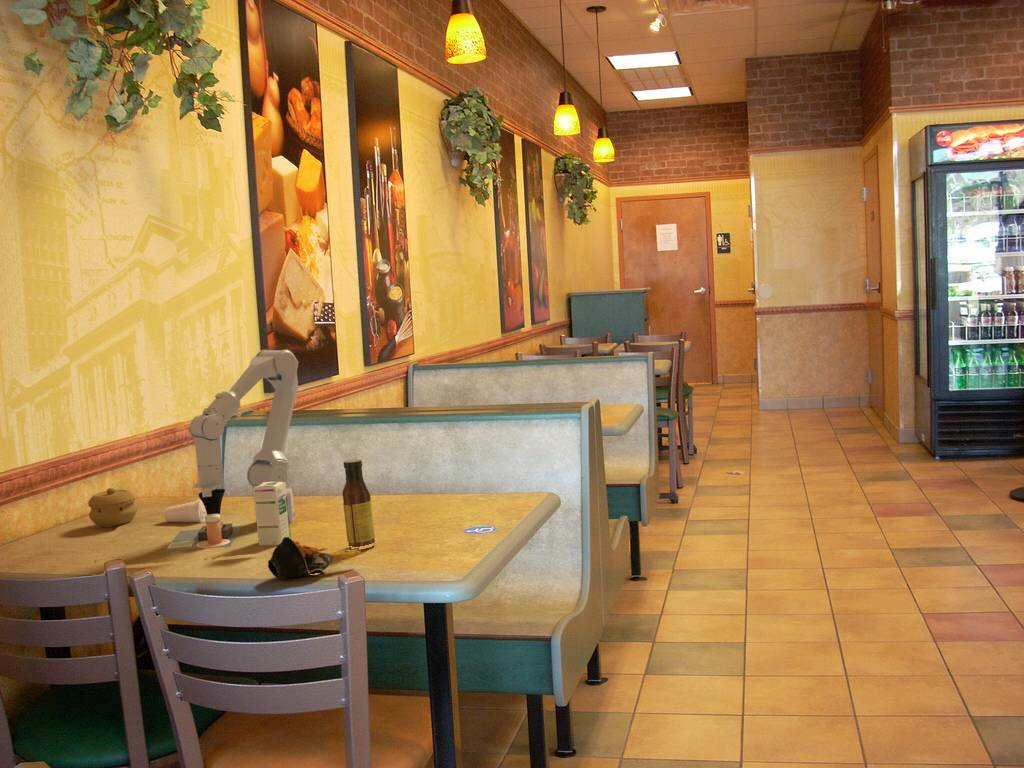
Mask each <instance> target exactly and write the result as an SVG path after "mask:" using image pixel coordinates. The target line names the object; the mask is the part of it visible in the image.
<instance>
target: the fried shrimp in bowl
mask: <svg viewBox="0 0 1024 768" xmlns="http://www.w3.org/2000/svg"><path fill="white" fill-rule="evenodd" d="M327 549H328V548H326V547H323V548H322V547H321V548H317V547H313V546H309V545H306V544H304V545H302V544H301V542H300V541H299V540H293V539H292V538H291V539H290V538H288V537H285V538H283V541H282V542H281V543H280V544H279V545H276V547H274V550H273V552H272V555H271V557H270V559H269V560H268V562H267V567H268V570H269V571H270V572H271V574H272V575H273V576H274V577H275V578H276V579H279V578H286V579H287V578H288V579H293V578H294V577H295V578H298V577H301V576H303V575H305V576H309V575H310V574H315V573H321V574H323V572H324V570H326V569H327V568H328V566H329V565H330V564H331V562H332V561H334V560H344V559H345V560H346V559H348V558H354V557H357V556H359V555H361V554H362V550H361V549H359V548H354V549H350V548H349V549H345V550H343V549H342V550H340V551H333V552H330V553H326V552H322V551H326V550H327Z"/></svg>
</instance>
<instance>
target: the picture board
mask: <svg viewBox="0 0 1024 768" xmlns="http://www.w3.org/2000/svg"><path fill="white" fill-rule="evenodd" d="M232 527H233V532H232V534H231V535H230V537H229V538H227V539H222V543H220V544H215V545H209V544H208V540H203V541H198V532H199V530H200V529H201V528H199V529H189V530H187V529H186V530H179V532H178V533H177V534H176V536H175V537H174V538H173V539H172V540H171V542H170V543H169V544H168V545H167V546H166V548H165V549H164V550H163V553H168V552H177V551H179V552H180V551H190V550H203V549H216V548H226V547H231V546H232V544H233V542H234V541H235V539H236V537H237V535H238V534H239V532H240V530H241V529H242V527H243V525H236V526H232Z"/></svg>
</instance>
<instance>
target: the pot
mask: <svg viewBox="0 0 1024 768" xmlns="http://www.w3.org/2000/svg"><path fill="white" fill-rule="evenodd" d="M136 500H137V499H136V496H135V495H134V493H132V492H131V491H130V490H127V489H115V488H114V487H109V488H107V489H106V490H105V491H100V492H97V493H95V494H93V495H92V496H91V497H90V498H89V500H88V502H87V504H88V507H89V508H90V512H89V513H88V517H89V518H90V520H91V521H92V523H93V524H94V525H95V526H97V527H99V528H115V527H116V528H117V527H120V526H121V525H125V524H129V523H131V522H132V521H133V520H134V518H135V516H136V514H137V509H138V507H137V506H136V505H135V504H134V502H136Z"/></svg>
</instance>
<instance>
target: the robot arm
mask: <svg viewBox="0 0 1024 768" xmlns="http://www.w3.org/2000/svg"><path fill="white" fill-rule="evenodd" d="M249 363H250V364H249V365H248V366H247V368H246V369H245V370H244V371H243V373H242V374H241V375H240V377H239V378H238V379H237V380H236V381H235V383H234V384H233V385H232V386H231V388H230V389H229V391H227V390H224V391H221V392H217V393H216V394H215V396H214V397H215V399H213V401H212V402H211V403H210V404H209V405H208V406H207V408H204V409H203V410H202V413H201V414H199V415H198V414H197V415H195V416H194V417H193V418H192V419H191V421H190V424H189V427H188V429H187V430H188V433H189V434H190V436H191V437H192V438H193V444H194V448H195V457H196V469H197V471H196V472H197V478H198V483H194V484H193V488H196V489H199V490H201V492H199V493H198V497H199V499H201V501H202V502H203V504H204V506H205V509H206V512H207V515H210V514H220V515H221V510H222V509H221V507H222V501H223V497H224V495H225V493H226V489H225V488H221V487H223V486H225V480H224V476H223V475H224V474H223V473H224V472H223V462H222V450H221V439H220V437H221V436H222V435H223V434H224V431H225V426H226V424H227V423H228V422H229V420H230V419H231V418H232V417H233V416H234V415H235V414H236V412H237V411H239V410H240V408H241V400H242V399H243V398H244V397H245V396H246V395H247V394H248V393H249V392H250V391H251V390H252V389H253V388H254V387H255V386H256V385H257V384H258V383H259V382H260V381H261V380H262V379H266V380H267V381H268V382H269V383H270V384H271V385H272V387H273V389H274V392H273V397H272V401H271V406H270V409H269V410H270V411H269V414H268V419H267V424H266V428H265V432H264V436H263V441H262V446H261V450H259V452H258V453H256V454H255V455H254V456H253V460H252V463H251V464H250V466H249V467H248V469H247V472H246V479H247V482H248V484H249V485H251V487H252V489H253V488H254V487H257V486H258V485H261V484H262V483H263V482H273V481H281V482H285V483H286V485H287V484H288V481H289V477H290V476H289V469H288V468H289V464H290V463H289V461H288V459H287V457H286V456H285V454H284V452H285V448H286V443H287V438H288V433H289V430H290V425H291V420H292V416H293V412H294V408H295V402H296V398H297V394H298V388H299V381H298V379H299V378H298V373H297V372H298V367H299V363H300V362H299V361H298V359H297V357H296V356H295V354H294V353H293V352H292V351H291V350H289V349H281V350H280V349H279V350H276V349H274V350H273V349H272V350H269V349H262V350H259V351H258V352H257V354H256V355H255V356H254V357H252V359H251V360H250V362H249ZM286 493H287V502H288V512H289V523H291V524H292V523H294V520H295V518H296V511H295V505H294V493H293V489H292V488H286Z"/></svg>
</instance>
